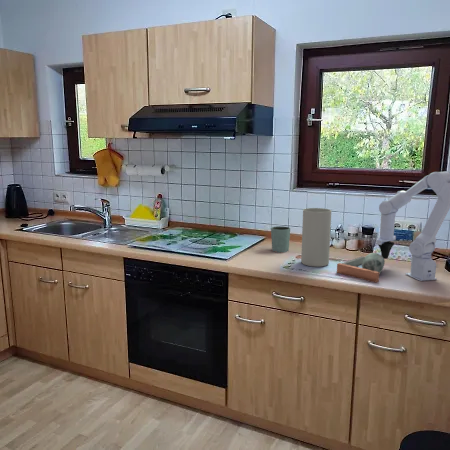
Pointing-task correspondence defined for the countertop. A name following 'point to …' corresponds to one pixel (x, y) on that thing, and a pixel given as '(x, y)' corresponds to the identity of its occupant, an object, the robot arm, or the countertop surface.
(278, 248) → the green cup
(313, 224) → the cylinder vase
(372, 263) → the grey-green rounded piece
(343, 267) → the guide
